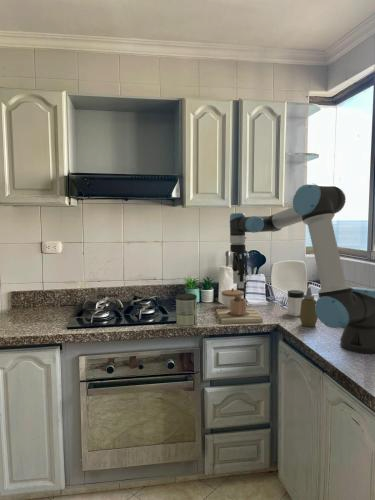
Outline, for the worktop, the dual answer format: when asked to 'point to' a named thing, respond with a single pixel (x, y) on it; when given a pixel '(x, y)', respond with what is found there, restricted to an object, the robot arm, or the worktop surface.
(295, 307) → the jar
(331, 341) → the worktop surface
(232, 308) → the copper sleeve
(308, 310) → the squeeze bottle
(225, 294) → the lidded bowl
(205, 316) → the worktop surface
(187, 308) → the coffee can
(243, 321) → the post stand
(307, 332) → the worktop surface
